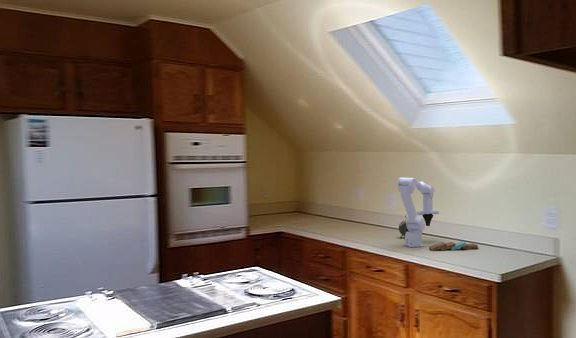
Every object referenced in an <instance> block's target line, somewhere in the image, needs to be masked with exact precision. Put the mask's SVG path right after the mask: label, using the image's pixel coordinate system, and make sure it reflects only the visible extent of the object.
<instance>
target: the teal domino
mask: <svg viewBox="0 0 576 338" xmlns="http://www.w3.org/2000/svg"><path fill="white" fill-rule="evenodd" d="M454 243H455V242H454ZM466 244H467V243H466V242H465V241H463V240H462V241H459V242H456V243H455V245H456V246H454V247H451V248H449V250H450V251H454V250H457V249H462V248H461V247H463V246H466Z"/></svg>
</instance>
